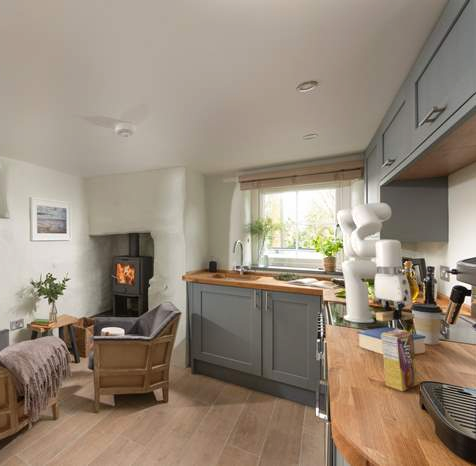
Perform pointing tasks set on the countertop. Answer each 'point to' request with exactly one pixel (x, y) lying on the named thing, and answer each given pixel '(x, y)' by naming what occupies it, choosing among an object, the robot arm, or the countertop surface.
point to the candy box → (399, 359)
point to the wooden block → (392, 316)
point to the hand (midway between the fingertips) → (393, 318)
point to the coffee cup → (427, 321)
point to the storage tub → (374, 341)
